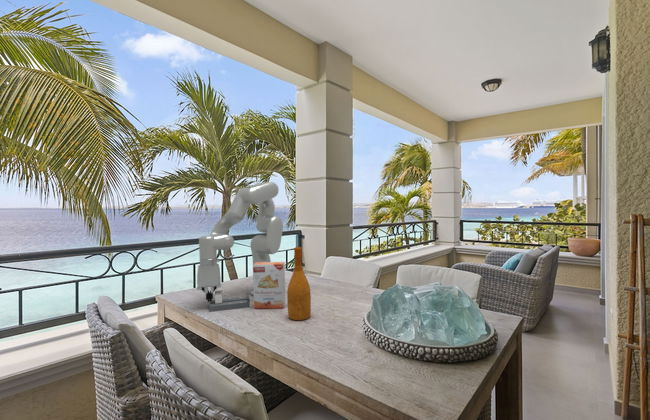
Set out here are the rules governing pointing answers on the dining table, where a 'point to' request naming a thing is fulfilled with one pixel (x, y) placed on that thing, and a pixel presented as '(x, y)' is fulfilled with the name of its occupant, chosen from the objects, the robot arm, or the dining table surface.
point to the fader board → (230, 303)
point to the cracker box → (269, 284)
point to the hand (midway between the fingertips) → (209, 300)
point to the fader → (218, 297)
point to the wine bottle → (298, 291)
